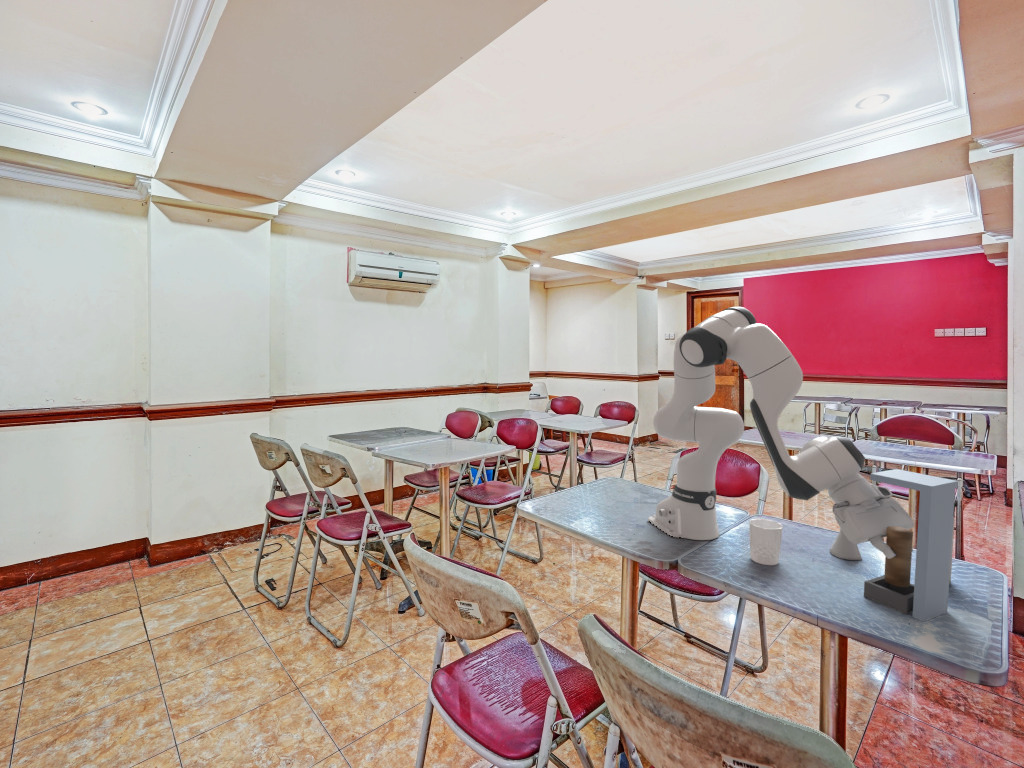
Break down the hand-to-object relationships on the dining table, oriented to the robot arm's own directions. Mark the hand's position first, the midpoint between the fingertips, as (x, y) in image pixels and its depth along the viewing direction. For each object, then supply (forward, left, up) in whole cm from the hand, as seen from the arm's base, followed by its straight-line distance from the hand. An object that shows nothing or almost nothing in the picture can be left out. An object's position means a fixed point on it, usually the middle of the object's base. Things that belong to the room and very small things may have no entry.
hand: (901, 555), depth 108 cm
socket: (-1, 0, -11) cm, 11 cm away
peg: (-1, 0, -6) cm, 7 cm away
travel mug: (-3, +20, -11) cm, 23 cm away
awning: (+1, +1, -11) cm, 11 cm away
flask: (-21, +15, -11) cm, 28 cm away
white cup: (-28, -8, -11) cm, 31 cm away
